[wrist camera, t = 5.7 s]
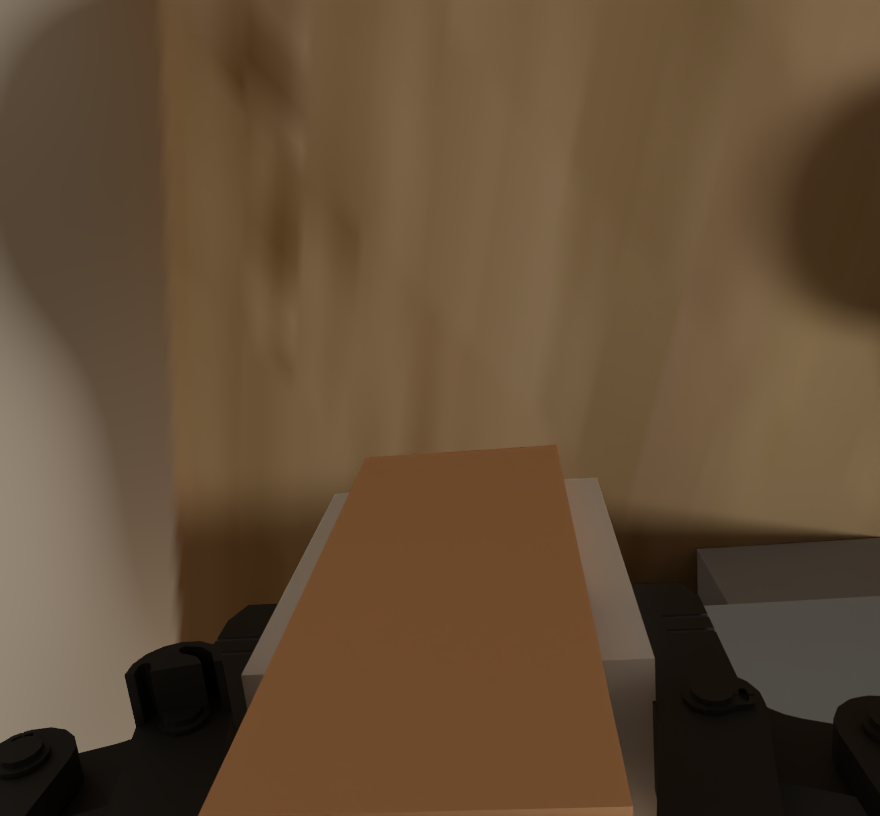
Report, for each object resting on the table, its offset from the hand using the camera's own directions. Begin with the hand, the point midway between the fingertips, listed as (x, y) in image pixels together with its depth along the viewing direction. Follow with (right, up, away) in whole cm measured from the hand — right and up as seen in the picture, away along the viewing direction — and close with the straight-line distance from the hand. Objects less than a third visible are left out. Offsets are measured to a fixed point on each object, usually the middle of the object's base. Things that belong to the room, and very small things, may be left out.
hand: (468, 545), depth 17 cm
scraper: (+1, -6, +2) cm, 6 cm away
